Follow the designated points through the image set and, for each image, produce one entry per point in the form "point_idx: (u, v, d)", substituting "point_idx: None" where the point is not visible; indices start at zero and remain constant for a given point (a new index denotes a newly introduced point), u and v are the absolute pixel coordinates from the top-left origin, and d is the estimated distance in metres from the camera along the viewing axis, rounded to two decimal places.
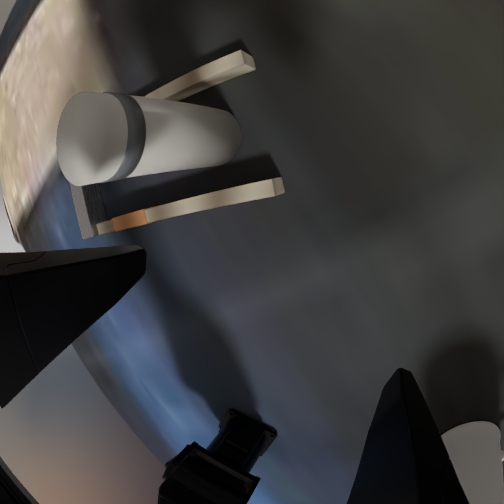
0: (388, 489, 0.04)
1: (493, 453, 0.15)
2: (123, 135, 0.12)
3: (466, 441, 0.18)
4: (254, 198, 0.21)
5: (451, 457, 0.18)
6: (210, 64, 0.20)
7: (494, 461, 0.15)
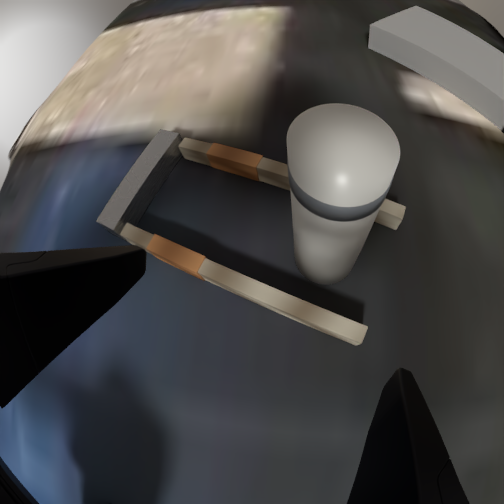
0: (388, 489, 0.04)
1: None
2: (387, 187, 0.12)
3: None
4: (340, 333, 0.19)
5: None
6: None
7: None
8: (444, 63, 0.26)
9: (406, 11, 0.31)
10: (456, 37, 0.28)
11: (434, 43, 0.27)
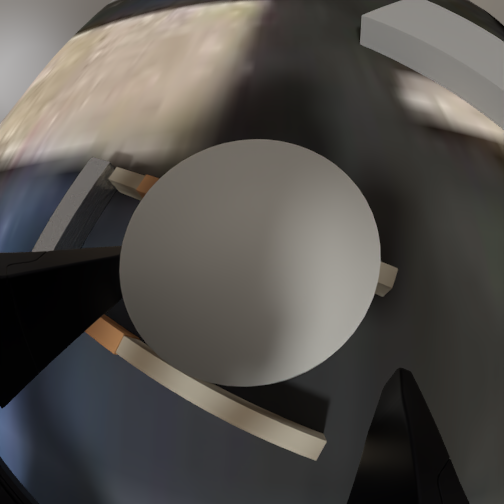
0: (388, 489, 0.04)
1: None
2: None
3: None
4: (288, 448, 0.13)
5: None
6: None
7: None
8: (455, 62, 0.20)
9: (405, 1, 0.25)
10: (465, 31, 0.22)
11: (441, 37, 0.21)
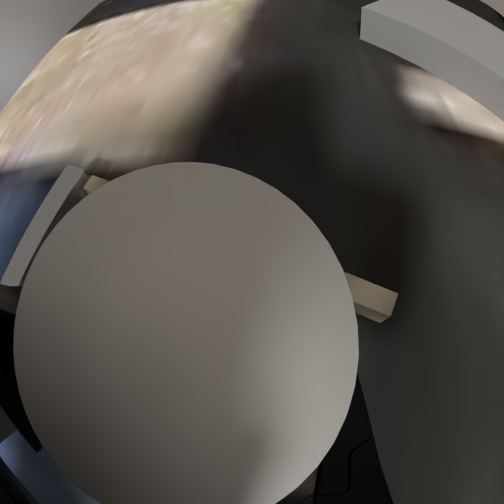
0: None
1: None
2: None
3: None
4: None
5: None
6: (348, 276, 0.14)
7: None
8: (465, 58, 0.17)
9: None
10: (471, 25, 0.19)
11: (447, 31, 0.19)
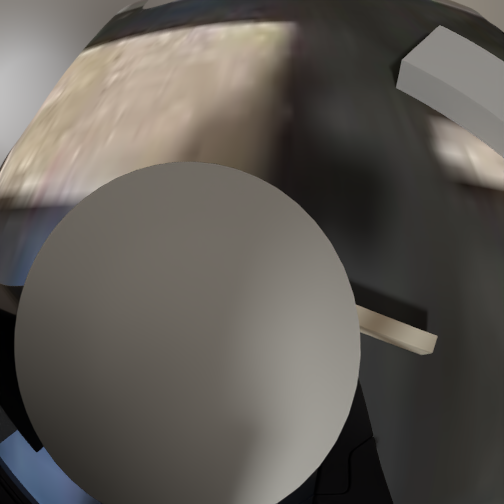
0: None
1: None
2: None
3: None
4: None
5: None
6: (404, 326, 0.18)
7: None
8: (491, 117, 0.21)
9: (433, 35, 0.26)
10: (493, 71, 0.23)
11: (476, 85, 0.22)
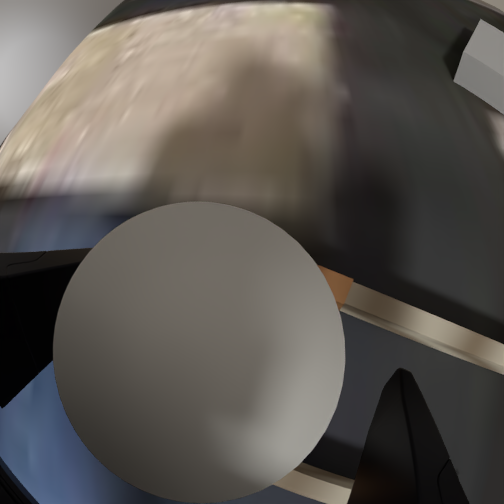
0: (388, 489, 0.04)
1: None
2: None
3: None
4: None
5: None
6: (499, 345, 0.12)
7: None
8: None
9: (479, 29, 0.21)
10: None
11: None
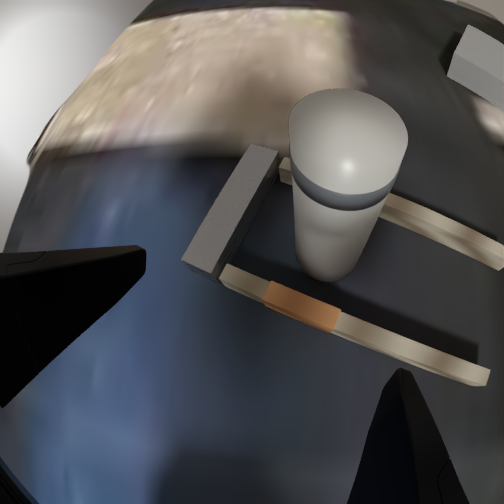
0: (388, 489, 0.04)
1: None
2: (394, 174, 0.11)
3: None
4: (471, 379, 0.15)
5: None
6: (488, 239, 0.19)
7: None
8: None
9: (467, 33, 0.27)
10: None
11: None
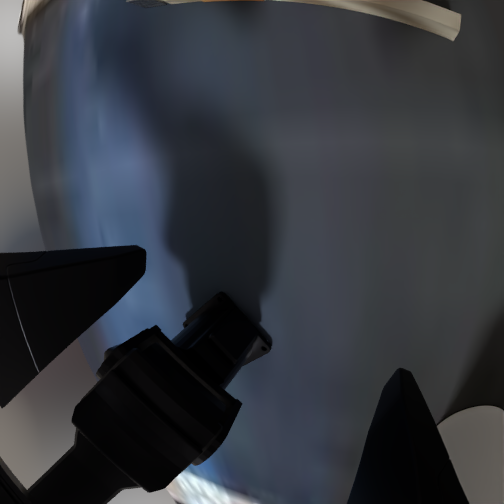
0: (388, 489, 0.04)
1: None
2: None
3: (490, 425, 0.16)
4: (433, 19, 0.10)
5: (474, 439, 0.15)
6: None
7: None
8: None
9: None
10: None
11: None
